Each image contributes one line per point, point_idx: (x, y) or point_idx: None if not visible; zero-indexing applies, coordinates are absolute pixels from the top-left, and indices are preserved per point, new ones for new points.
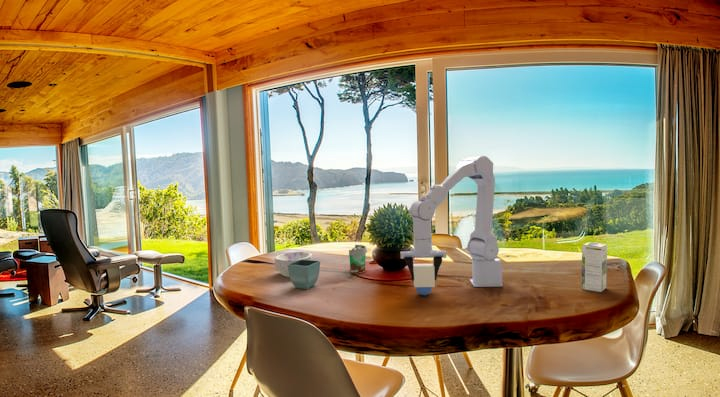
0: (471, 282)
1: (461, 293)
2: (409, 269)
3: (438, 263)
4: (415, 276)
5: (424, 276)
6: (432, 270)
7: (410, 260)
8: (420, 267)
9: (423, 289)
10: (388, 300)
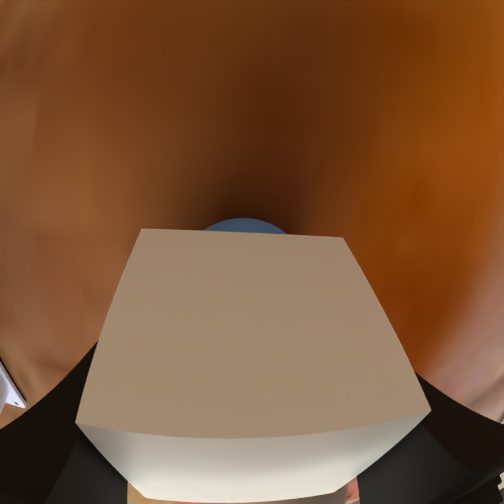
0: (10, 381)
1: (13, 265)
2: (437, 390)
3: (8, 454)
4: (368, 308)
5: (252, 308)
6: (119, 372)
7: (476, 486)
8: (333, 421)
9: (255, 224)
10: (468, 176)
